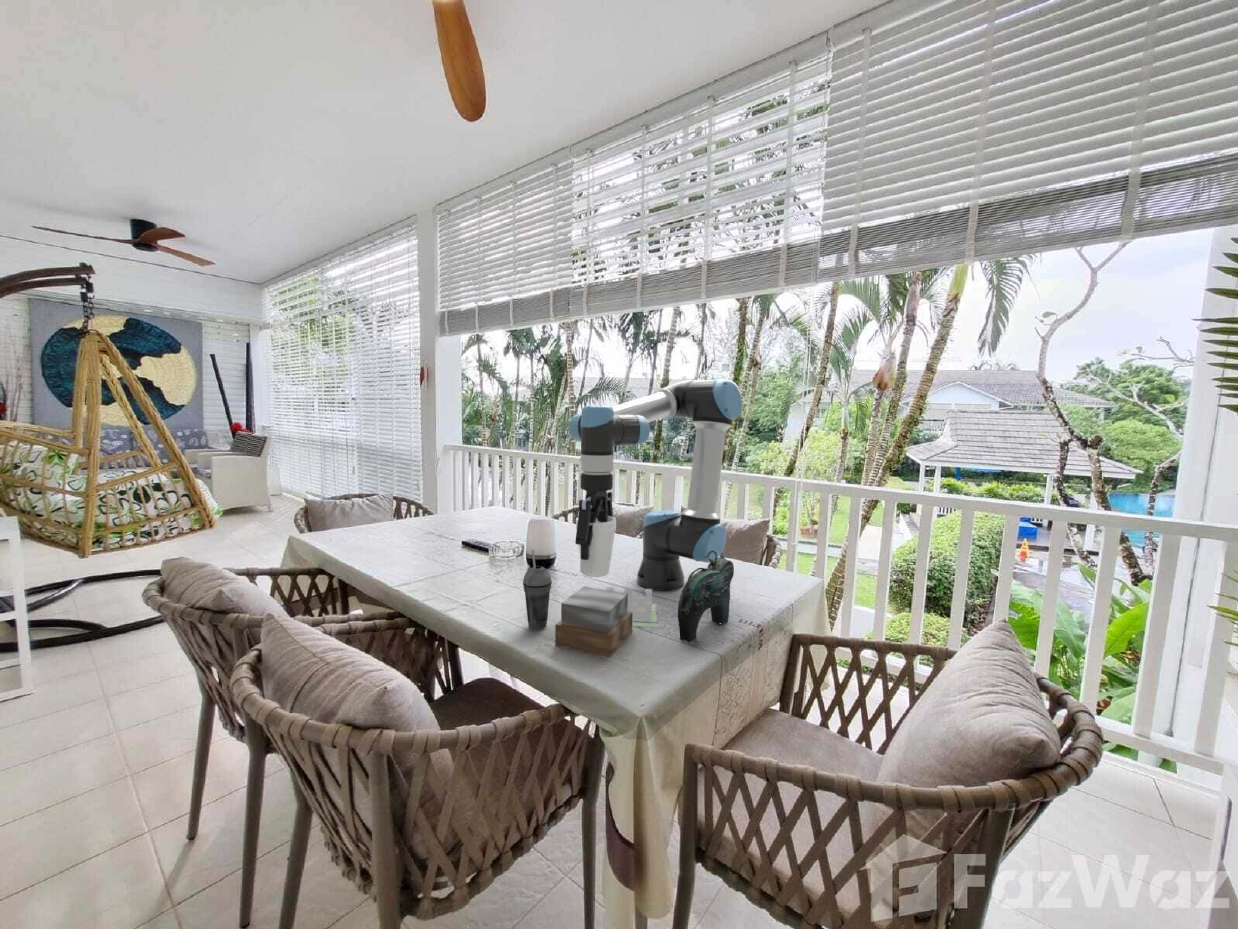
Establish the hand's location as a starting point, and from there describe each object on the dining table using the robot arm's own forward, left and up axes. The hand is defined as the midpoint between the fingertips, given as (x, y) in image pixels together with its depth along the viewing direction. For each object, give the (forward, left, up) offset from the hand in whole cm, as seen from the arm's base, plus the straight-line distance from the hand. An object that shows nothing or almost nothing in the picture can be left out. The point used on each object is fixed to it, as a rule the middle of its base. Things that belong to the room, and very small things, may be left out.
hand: (595, 566), depth 118 cm
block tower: (0, 0, -18) cm, 18 cm away
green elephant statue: (-16, +24, -18) cm, 34 cm away
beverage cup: (0, -16, -18) cm, 24 cm away
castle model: (-17, +2, -19) cm, 25 cm away
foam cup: (0, 0, -2) cm, 2 cm away
